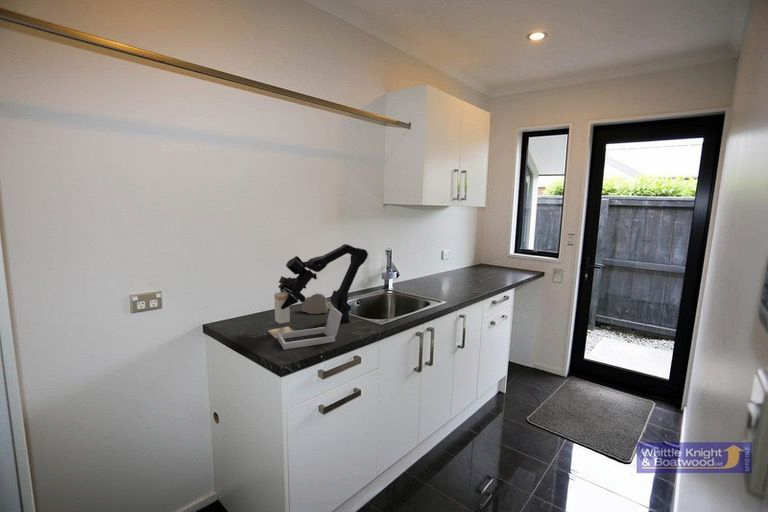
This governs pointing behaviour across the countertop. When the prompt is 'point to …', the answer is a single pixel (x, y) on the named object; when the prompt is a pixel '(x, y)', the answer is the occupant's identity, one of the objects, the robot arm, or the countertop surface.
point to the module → (280, 314)
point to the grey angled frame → (313, 332)
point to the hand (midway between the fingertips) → (279, 307)
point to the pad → (279, 331)
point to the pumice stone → (315, 304)
